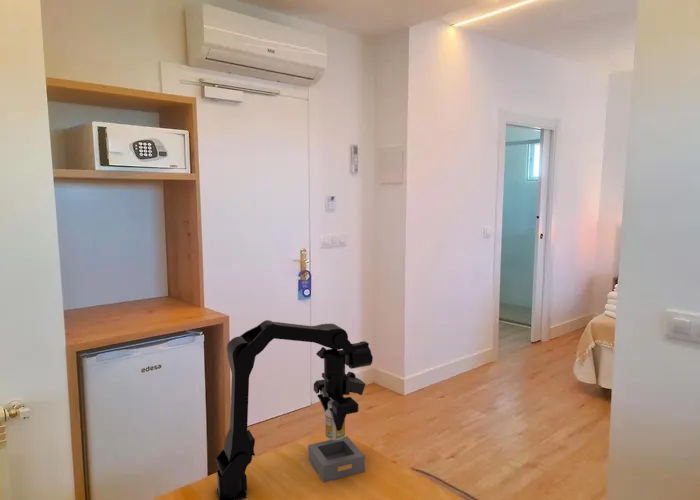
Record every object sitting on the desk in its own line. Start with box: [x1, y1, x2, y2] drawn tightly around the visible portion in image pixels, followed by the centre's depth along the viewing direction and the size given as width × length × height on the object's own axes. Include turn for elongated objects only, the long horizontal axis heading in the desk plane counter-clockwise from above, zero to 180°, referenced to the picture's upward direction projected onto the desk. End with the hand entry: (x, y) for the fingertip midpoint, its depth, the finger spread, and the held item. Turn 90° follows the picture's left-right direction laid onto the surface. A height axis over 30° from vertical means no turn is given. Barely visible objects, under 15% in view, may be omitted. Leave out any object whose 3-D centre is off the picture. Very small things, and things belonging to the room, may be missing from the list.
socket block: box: [307, 435, 366, 483], centre depth 137 cm, size 12×12×4 cm
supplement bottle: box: [324, 400, 346, 440], centre depth 136 cm, size 5×5×10 cm
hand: (335, 425), depth 136 cm, fingers closed on supplement bottle, 5 cm apart
